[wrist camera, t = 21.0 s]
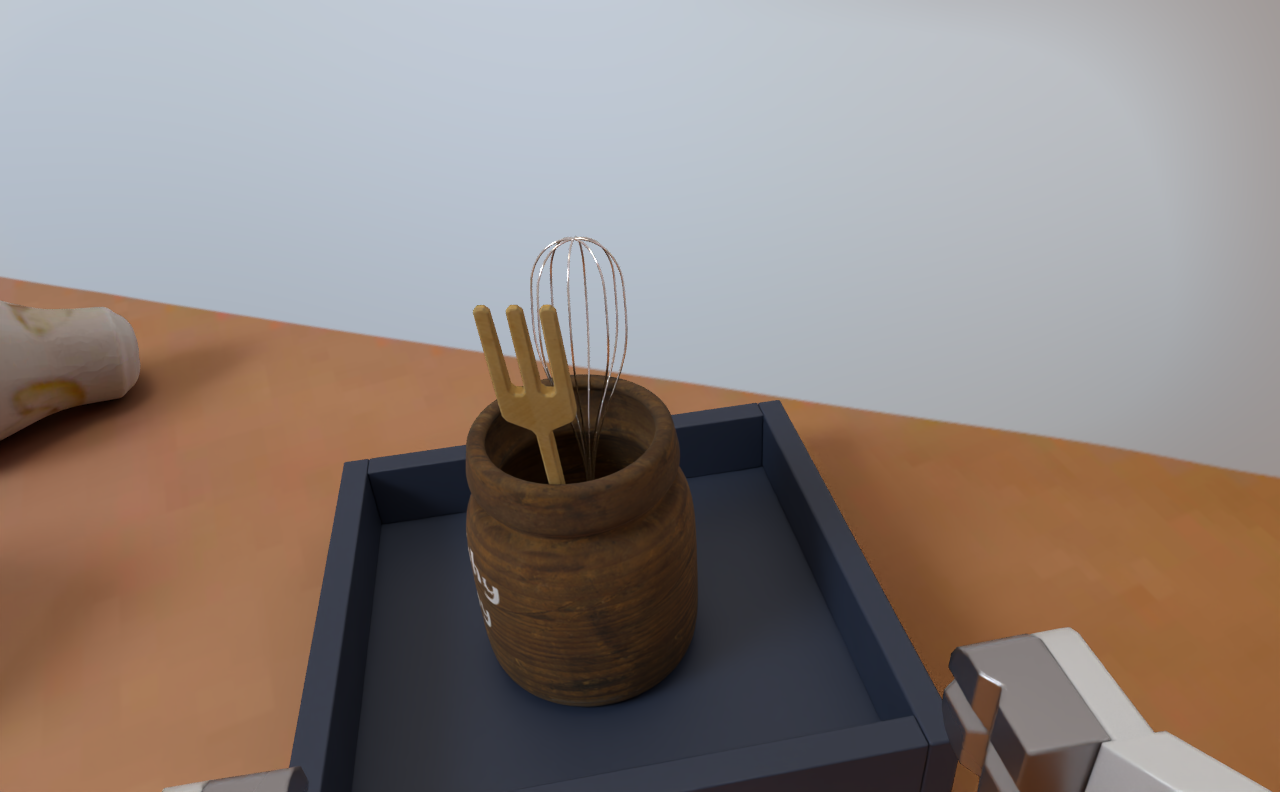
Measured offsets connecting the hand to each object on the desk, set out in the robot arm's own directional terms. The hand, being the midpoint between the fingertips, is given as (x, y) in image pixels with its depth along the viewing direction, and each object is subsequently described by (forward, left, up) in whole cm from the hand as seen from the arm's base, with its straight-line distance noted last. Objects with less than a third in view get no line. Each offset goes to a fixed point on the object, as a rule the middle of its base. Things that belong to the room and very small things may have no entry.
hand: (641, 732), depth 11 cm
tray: (0, -11, -10) cm, 15 cm away
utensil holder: (0, -11, -10) cm, 15 cm away
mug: (+22, -28, -11) cm, 37 cm away
